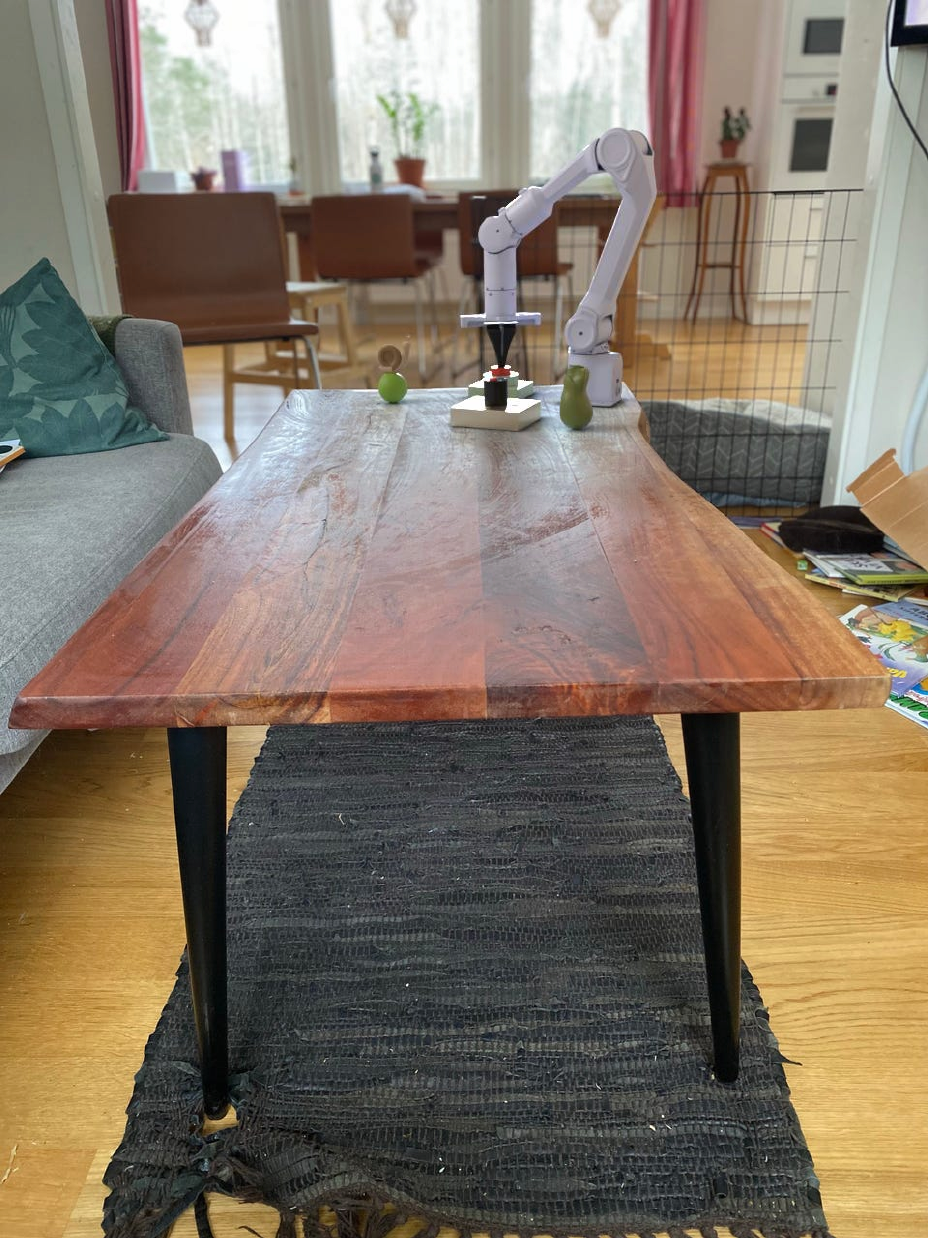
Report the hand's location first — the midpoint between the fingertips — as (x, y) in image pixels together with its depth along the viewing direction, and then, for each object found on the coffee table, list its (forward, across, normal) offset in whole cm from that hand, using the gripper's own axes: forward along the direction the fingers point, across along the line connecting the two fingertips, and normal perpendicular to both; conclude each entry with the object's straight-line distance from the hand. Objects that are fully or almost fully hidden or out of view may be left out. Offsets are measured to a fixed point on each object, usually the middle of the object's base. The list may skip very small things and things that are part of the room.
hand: (501, 366), depth 174 cm
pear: (+6, +8, -29) cm, 31 cm away
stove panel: (+6, -4, -22) cm, 23 cm away
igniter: (+5, 0, 0) cm, 5 cm away
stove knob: (+2, -4, -22) cm, 23 cm away
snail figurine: (+6, -20, -2) cm, 21 cm away
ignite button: (+2, 0, 0) cm, 2 cm away
